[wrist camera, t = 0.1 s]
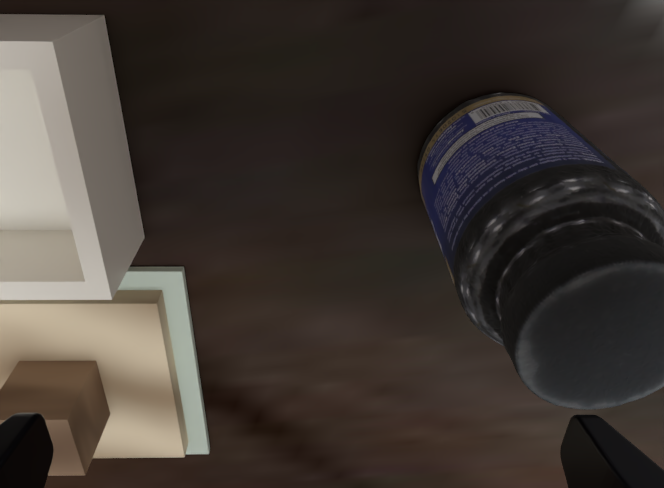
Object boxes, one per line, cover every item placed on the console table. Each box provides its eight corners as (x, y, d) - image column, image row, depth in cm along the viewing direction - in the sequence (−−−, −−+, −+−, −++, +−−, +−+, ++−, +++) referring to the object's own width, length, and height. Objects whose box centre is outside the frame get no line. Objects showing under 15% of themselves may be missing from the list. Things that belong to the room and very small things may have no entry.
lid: (188, 441, 31) (169, 519, 27) (0, 443, 30) (-47, 522, 26) (162, 290, 25) (134, 359, 22) (-65, 290, 25) (-135, 360, 21)
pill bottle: (388, 196, 24) (435, 390, 14) (466, 60, 21) (587, 189, 11) (511, 247, 25) (628, 455, 16) (599, 127, 22) (805, 290, 13)
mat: (210, 448, 31) (208, 454, 31) (-10, 450, 31) (-14, 456, 31) (183, 266, 25) (182, 271, 25) (-91, 266, 25) (-96, 271, 25)
